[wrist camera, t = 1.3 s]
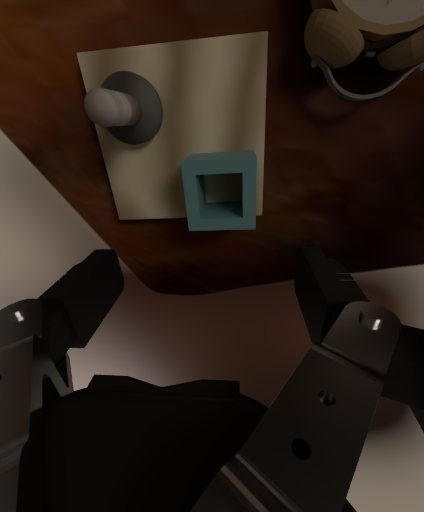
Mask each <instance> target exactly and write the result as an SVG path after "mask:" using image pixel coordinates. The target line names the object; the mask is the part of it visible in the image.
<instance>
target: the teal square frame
mask: <svg viewBox="0 0 424 512" xmlns="http://www.w3.org/2000/svg"><path fill="white" fill-rule="evenodd" d="M181 168H182V177H183V185H184V194H185V202H186V210H187V219H188V227H189V231H207V230H247V229H255V228H256V177H257V156H256V154H255V152H254V150H246V151H229V152H213V153H197V154H190V155H189V156H187V157H186V158H185V159H183V160H182V161H181ZM225 173H242V201H236V202H210V203H206V194H205V182H204V175H205V174H225Z"/></svg>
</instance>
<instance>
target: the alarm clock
mask: <svg viewBox="0 0 424 512" xmlns="http://www.w3.org/2000/svg"><path fill="white" fill-rule="evenodd" d="M310 2H311V7H312V11H313V12H312V13H311V14H310V16H309V18H308V21H307V24H306V27H305V31H304V43H305V48H306V50H307V52H308V54H309V55H310V57H311V58H312V61H311V65H310V66H311V67H312V68H315V67H317V65H318V66H319V67H320V69H321V70H322V71H323V73H324V76H325V78H326V81H327V83H328V85H329V86H330V88H331V89H332V91H333V92H335V93H336V94H337V95H338V96H340V97H342V98H345V99H348V100H353V101H361V100H368V99H371V98H375V97H378V96H381V95H383V94H385V93H387V92H388V91H390V90H392V89H393V88H394V87H396V86H397V85H398V84H399V83H400V82H401V81H402V80H403V79H404V78H405V77H406V76H408V75H409V74H410V73H411V72H412V71H414V70H415V71H416V72H417V73H418V72H420V71H422V70H423V68H424V29H423V30H421V31H419V32H418V29H419V28H421V27H422V26H424V0H310ZM411 34H412V36H410V37H408V38H406V39H404V40H402V41H401V42H399V43H397V44H395V45H393V46H392V47H390V48H388V49H386V50H385V51H383V52H381V53H380V54H378V55H377V59H378V62H379V64H380V65H381V67H382V68H384V69H386V70H389V71H398V70H404V69H407V68H410V67H412V68H410V69H409V70H407V71H405V72H404V73H402V74H401V75H400V76H399V77H397V78H396V79H395V80H394V81H393V82H392V83H391V84H390V85H389V86H387V87H386V88H385V89H383V90H382V91H380V92H378V93H374V94H369V95H358V94H353V93H350V92H348V91H346V90H344V89H343V88H341V87H340V86H339V85H338V84H337V82H336V81H335V79H334V78H333V75H332V73H331V71H330V69H329V68H332V69H337V68H341V67H344V66H346V65H349V64H350V63H352V62H353V61H354V60H355V59H356V58H357V57H358V55H359V54H360V53H361V51H362V50H367V49H370V51H366V52H365V54H364V56H365V57H374V56H375V54H376V51H372V49H374V48H380V47H387V46H389V45H391V44H393V43H395V42H397V41H399V40H401V39H403V38H405V37H407V36H409V35H411ZM413 66H414V67H413Z"/></svg>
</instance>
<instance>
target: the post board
mask: <svg viewBox="0 0 424 512" xmlns="http://www.w3.org/2000/svg"><path fill="white" fill-rule="evenodd" d="M267 46H268V31H264V32H255V33H247V34H238V35H229V36H220V37H212V38H203V39H194V40H185V41H177V42H168V43H159V44H150V45H142V46H133V47H124V48H115V49H107V50H98V51H89V52H80V53H77V57H78V61H79V65H80V69H81V73H82V76H83V80H84V84H85V88H86V92H87V94H86V96H85V99H84V108H85V111H86V113H87V115H88V117H89V118H90V119H91V120H92V121H93V122H94V123H95V127H96V130H97V134H98V138H99V142H100V146H101V150H102V154H103V157H104V161H105V165H106V169H107V173H108V177H109V181H110V185H111V188H112V192H113V196H114V200H115V204H116V208H117V212H118V215H119V219H120V220H126V219H158V218H187V210H186V202H185V194H184V185H183V177H182V168H181V161H182V160H183V159H185V158H186V157H187V156H189V155H190V154H197V153H213V152H229V151H246V150H254V152H255V154H256V156H257V177H256V215H262V201H263V170H264V139H265V108H266V77H267ZM204 182H205V194H206V203H210V202H236V201H242V173H225V174H205V175H204Z"/></svg>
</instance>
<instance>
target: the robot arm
mask: <svg viewBox="0 0 424 512" xmlns="http://www.w3.org/2000/svg"><path fill="white" fill-rule="evenodd" d="M294 282H295V293H296V296H297V298H298V302H299V305H300V308H301V311H302V314H303V317H304V320H305V323H306V326H307V329H308V332H309V335H310V338H311V341H312V344H313V345H312V346H311V347H310V349H309V350H308V352H307V353H306V354H305V356H304V357H303V359H302V360H301V362H300V364H299V365H298V366H297V368H296V369H295V371H294V372H293V374H292V375H291V376H290V378H289V379H288V381H287V382H286V384H285V385H284V387H283V388H282V390H281V391H280V393H279V394H278V396H277V397H276V399H275V400H274V401H273V403H272V404H271V406H270V407H269V408H268V407H266V406H265V405H263V404H262V403H260V402H258V401H256V400H254V399H252V398H250V397H248V396H245V395H242V394H240V386H239V385H240V384H239V381H226V380H204V379H202V380H196V381H192V382H186V383H181V384H176V385H171V386H166V387H160V386H156V385H153V384H150V383H147V382H144V381H141V380H138V379H135V378H132V377H129V376H114V375H94V376H93V378H92V380H91V382H90V383H89V385H88V387H87V388H83V389H80V390H77V391H74V390H73V383H72V374H71V367H70V359H69V356H68V354H67V351H68V349H69V348H84V347H85V346H86V345H87V343H88V342H89V340H90V339H91V337H92V336H93V334H94V333H95V331H96V330H97V328H98V327H99V325H100V324H101V322H102V321H103V319H104V318H105V316H106V315H107V313H108V312H109V311H110V309H111V308H112V306H113V305H114V303H115V302H116V300H117V299H118V297H119V296H120V294H121V293H122V291H123V288H124V278H123V274H122V271H121V267H120V264H119V260H118V257H117V254H116V252H115V251H114V250H113V249H105V250H104V249H103V250H95V251H93V252H92V253H91V254H90V255H89V256H88V257H87V258H86V259H85V260H83V261H82V262H81V263H79V264H77V265H75V266H73V267H72V268H71V269H70V270H69V271H68V272H67V273H66V275H63V276H62V277H61V278H60V279H59V281H57V282H56V283H54V285H52V286H51V287H50V288H49V289H48V290H47V291H45V292H44V293H43V294H42V295H41V296H40V297H39V298H38V299H25V300H21V301H18V302H15V303H13V304H11V305H9V306H7V307H5V308H3V309H2V310H0V512H356V510H355V509H354V508H353V507H352V505H351V504H350V503H349V502H348V500H347V499H346V496H347V493H348V490H349V487H350V484H351V481H352V478H353V475H354V472H355V469H356V466H357V463H358V460H359V457H360V454H361V451H362V448H363V445H364V442H365V439H366V436H367V433H368V430H369V427H370V425H371V422H372V418H373V415H374V412H375V409H376V406H377V404H378V401H379V398H380V396H383V397H386V398H389V399H392V400H395V401H398V402H401V403H404V404H407V405H409V406H410V408H411V409H412V411H413V413H414V415H415V417H416V419H417V421H418V422H419V424H420V426H421V428H422V430H423V432H424V330H423V329H419V328H414V327H410V326H406V325H402V324H401V322H400V320H399V319H398V317H397V316H396V315H395V314H394V313H393V312H391V311H390V310H388V309H386V308H385V307H383V306H380V305H378V304H375V303H371V302H369V300H368V299H367V297H366V296H365V295H364V293H363V292H362V290H361V289H360V288H359V286H358V285H357V284H356V282H355V281H353V278H352V277H351V275H350V274H349V272H348V271H347V270H346V268H345V267H344V265H343V264H341V263H340V262H338V261H336V260H335V259H333V258H326V257H325V255H324V254H323V252H322V250H321V249H320V247H318V246H316V247H299V249H298V253H297V262H296V270H295V280H294Z"/></svg>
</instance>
